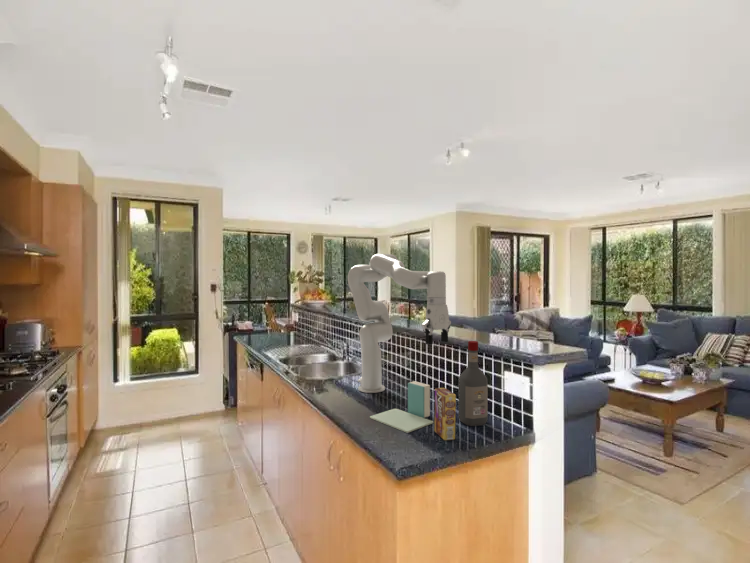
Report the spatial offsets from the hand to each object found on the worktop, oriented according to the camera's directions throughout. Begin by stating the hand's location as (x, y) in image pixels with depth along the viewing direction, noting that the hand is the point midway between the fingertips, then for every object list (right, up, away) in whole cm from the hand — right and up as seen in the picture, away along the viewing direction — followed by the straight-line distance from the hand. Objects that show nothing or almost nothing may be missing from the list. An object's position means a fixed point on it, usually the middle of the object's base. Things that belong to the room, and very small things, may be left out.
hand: (437, 343), depth 169 cm
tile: (-8, -27, -7) cm, 29 cm away
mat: (-16, -27, -14) cm, 34 cm away
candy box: (-2, -28, -28) cm, 39 cm away
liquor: (+11, -27, -15) cm, 33 cm away
